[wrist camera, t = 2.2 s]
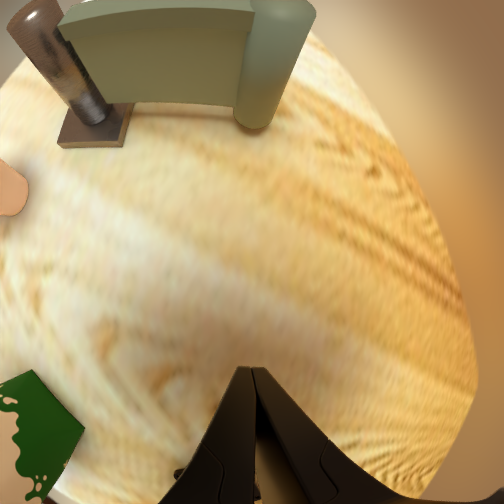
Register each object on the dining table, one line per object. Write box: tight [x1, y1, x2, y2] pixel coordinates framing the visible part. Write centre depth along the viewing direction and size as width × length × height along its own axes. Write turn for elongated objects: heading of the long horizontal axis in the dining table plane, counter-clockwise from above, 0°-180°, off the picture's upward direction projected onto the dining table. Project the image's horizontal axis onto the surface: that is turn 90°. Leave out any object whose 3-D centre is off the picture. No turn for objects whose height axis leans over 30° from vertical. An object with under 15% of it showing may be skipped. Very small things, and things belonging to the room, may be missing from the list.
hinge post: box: [7, 0, 134, 148], centre depth 12 cm, size 6×6×14 cm
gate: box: [57, 0, 316, 129], centre depth 13 cm, size 12×3×10 cm, turn 85°
